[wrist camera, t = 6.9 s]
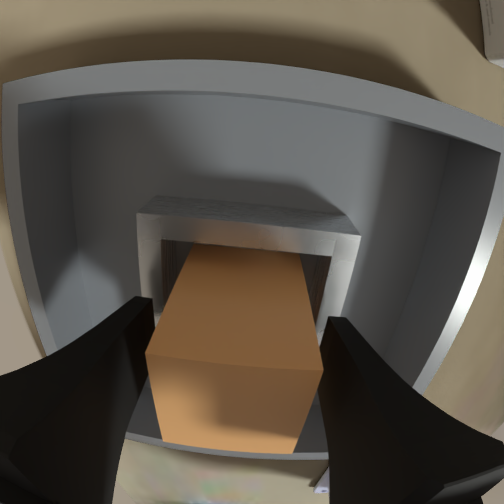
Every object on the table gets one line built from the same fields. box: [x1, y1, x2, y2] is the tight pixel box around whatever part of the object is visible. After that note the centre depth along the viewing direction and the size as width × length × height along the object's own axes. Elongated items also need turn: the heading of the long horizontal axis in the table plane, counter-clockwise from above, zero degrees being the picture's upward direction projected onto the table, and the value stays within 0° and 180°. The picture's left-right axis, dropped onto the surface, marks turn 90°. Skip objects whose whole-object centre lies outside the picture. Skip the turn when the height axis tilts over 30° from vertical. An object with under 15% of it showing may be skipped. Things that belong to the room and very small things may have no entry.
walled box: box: [2, 60, 504, 460], centre depth 12 cm, size 16×16×4 cm
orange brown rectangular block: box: [145, 244, 323, 454], centre depth 10 cm, size 4×4×6 cm
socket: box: [136, 196, 361, 347], centre depth 12 cm, size 7×7×2 cm
